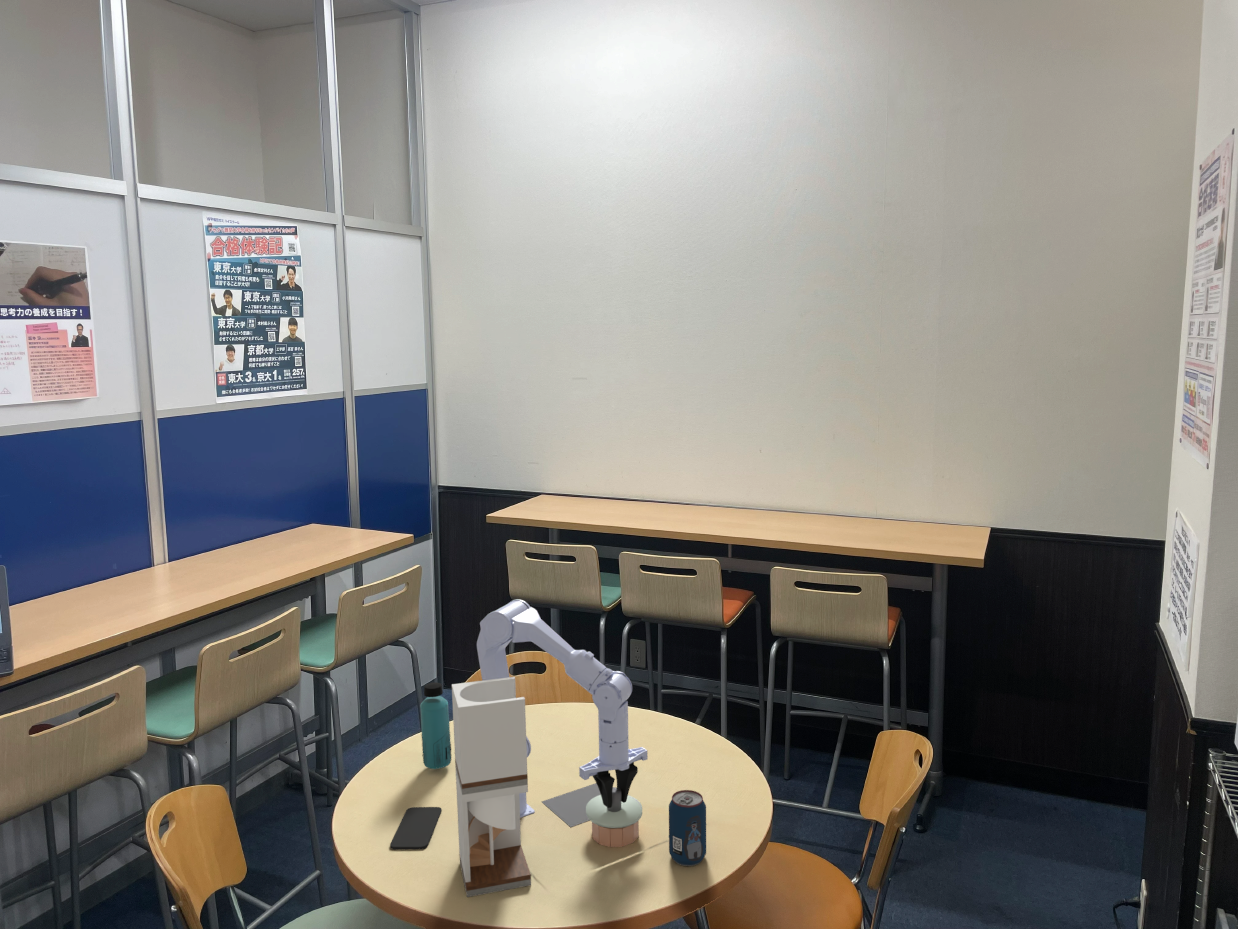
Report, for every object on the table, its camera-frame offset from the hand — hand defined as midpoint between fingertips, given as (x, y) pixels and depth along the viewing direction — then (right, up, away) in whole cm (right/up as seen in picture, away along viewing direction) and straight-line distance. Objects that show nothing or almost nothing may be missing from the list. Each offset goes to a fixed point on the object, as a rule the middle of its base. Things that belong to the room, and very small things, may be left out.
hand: (614, 803), depth 177 cm
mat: (-6, -5, +12) cm, 15 cm away
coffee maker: (-22, -9, -11) cm, 26 cm away
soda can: (+14, -8, -7) cm, 17 cm away
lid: (0, -2, +1) cm, 2 cm away
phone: (-40, -7, +5) cm, 41 cm away
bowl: (0, -7, +1) cm, 7 cm away
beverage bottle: (-40, -3, +29) cm, 50 cm away
